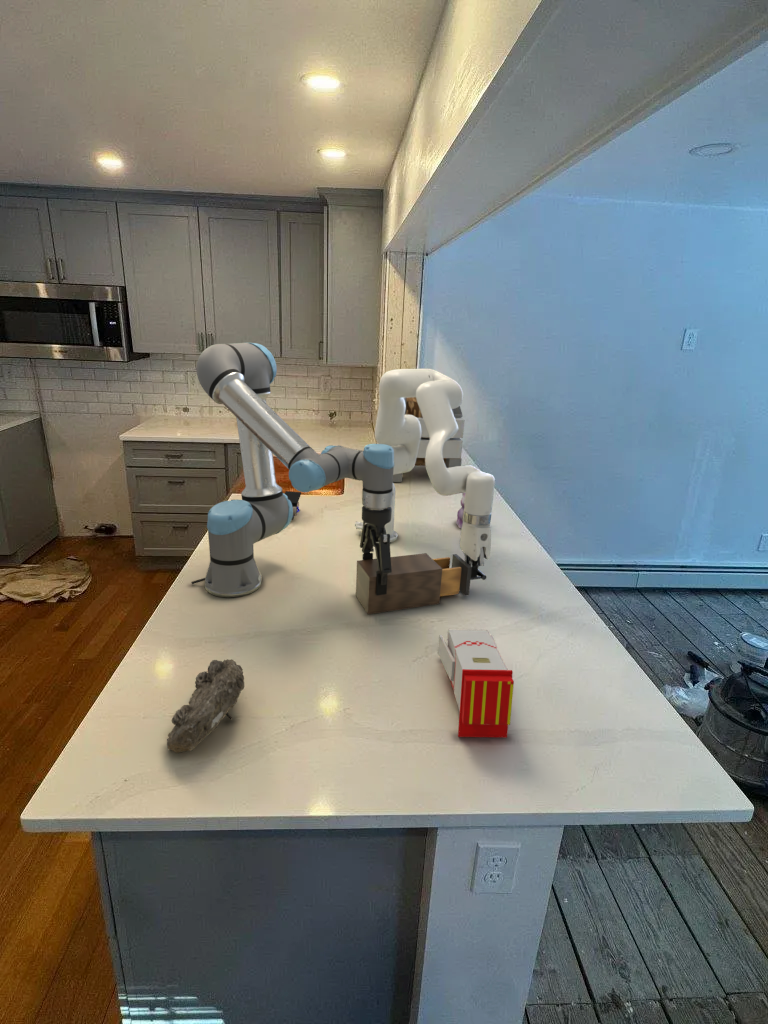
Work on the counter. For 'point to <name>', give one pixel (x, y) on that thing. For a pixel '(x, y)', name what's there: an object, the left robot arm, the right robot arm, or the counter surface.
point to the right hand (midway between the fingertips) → (470, 577)
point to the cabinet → (400, 583)
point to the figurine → (461, 512)
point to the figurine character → (294, 501)
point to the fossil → (206, 705)
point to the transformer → (450, 447)
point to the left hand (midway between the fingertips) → (373, 584)
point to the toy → (478, 682)
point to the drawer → (456, 575)
